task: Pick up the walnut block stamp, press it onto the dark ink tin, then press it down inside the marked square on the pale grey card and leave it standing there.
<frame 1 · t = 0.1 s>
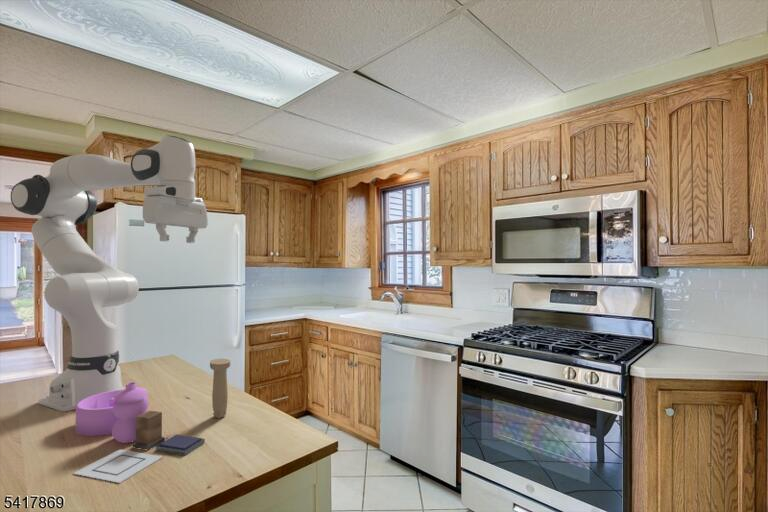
hand: (178, 242, 109), 48 cm above the counter, tool pointing down, fingers open, 8 cm apart
stamp: (148, 444, 89), on the counter
handle: (219, 417, 105), on the counter
ink tin: (180, 446, 88), on the counter
container set: (118, 429, 98), on the counter
card: (119, 465, 80), on the counter
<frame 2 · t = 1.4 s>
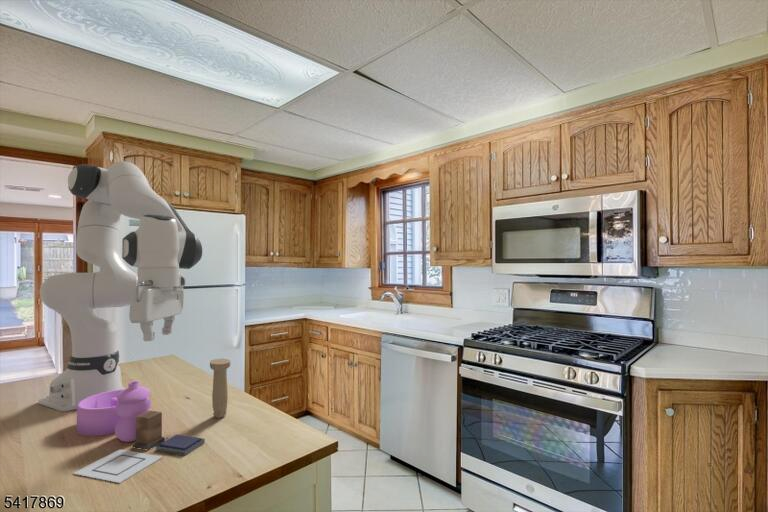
hand: (158, 337, 93), 24 cm above the counter, tool pointing down, fingers open, 8 cm apart
nothing on the counter moved.
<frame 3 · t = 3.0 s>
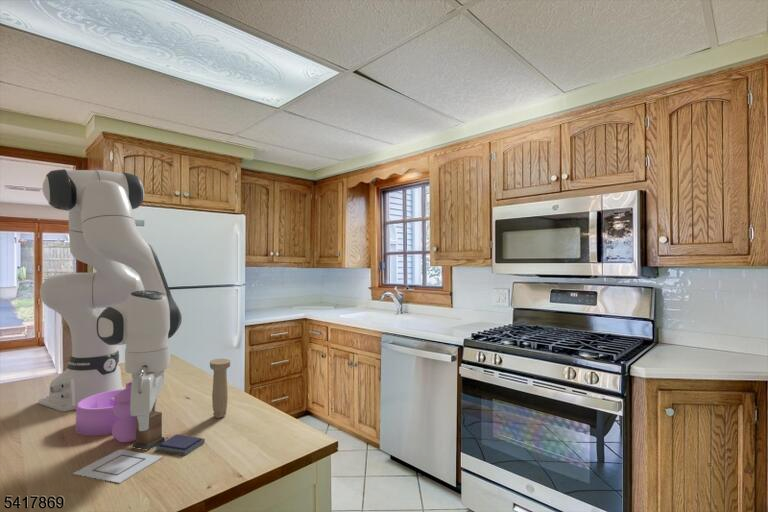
hand: (147, 421, 89), 6 cm above the counter, tool pointing down, fingers open, 8 cm apart
nothing on the counter moved.
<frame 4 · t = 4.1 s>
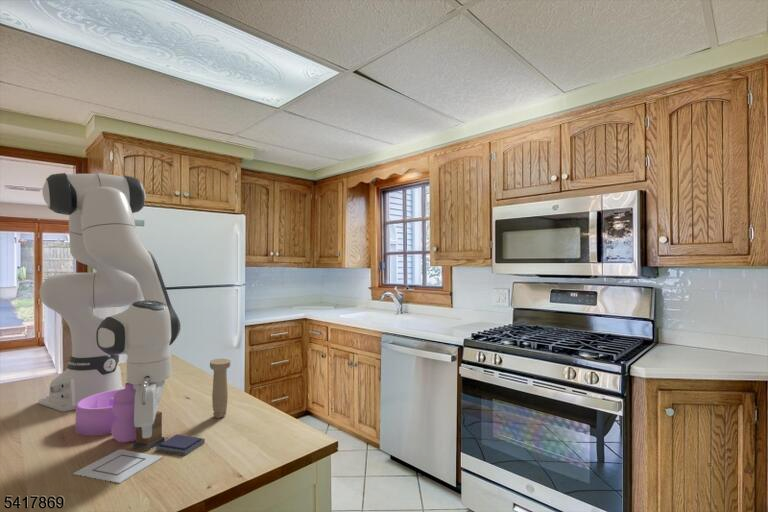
hand: (149, 430, 89), 3 cm above the counter, tool pointing down, fingers closed on stamp, 5 cm apart
stamp: (148, 444, 89), on the counter, touching gripper
everything else where it was.
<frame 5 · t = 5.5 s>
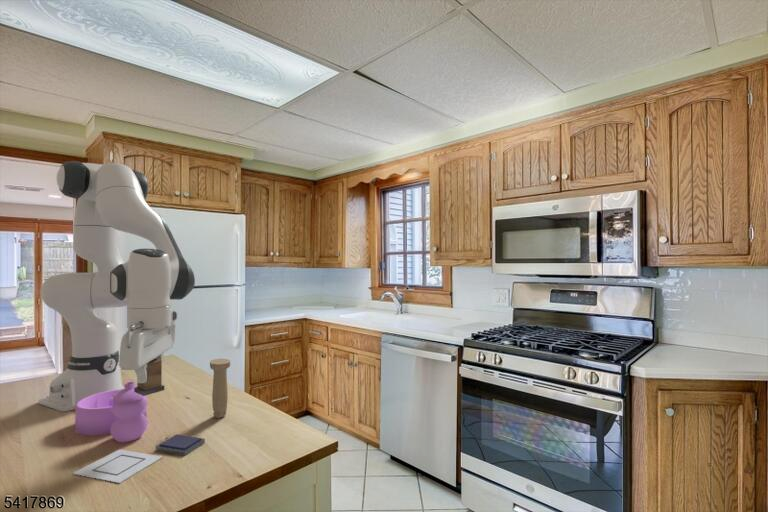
hand: (149, 377, 90), 15 cm above the counter, tool pointing down, fingers closed on stamp, 5 cm apart
stamp: (149, 391, 90), point 12 cm above the counter, touching gripper
everything else where it was.
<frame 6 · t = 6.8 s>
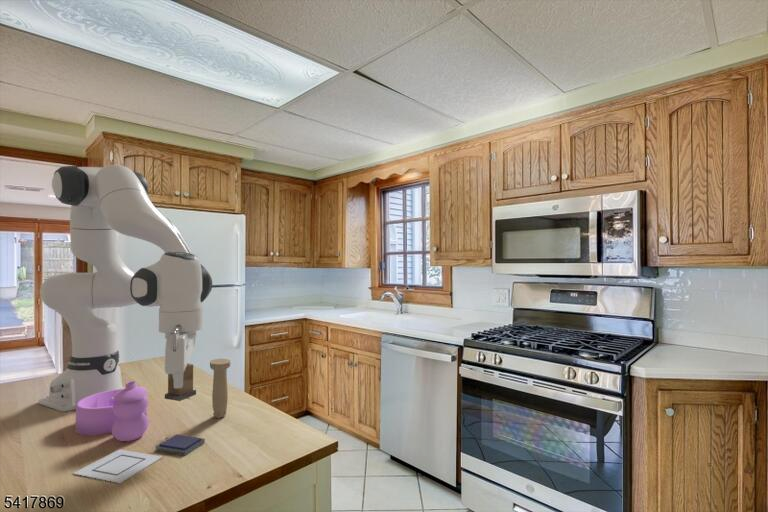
hand: (180, 383, 88), 15 cm above the counter, tool pointing down, fingers closed on stamp, 5 cm apart
stamp: (180, 396, 88), point 12 cm above the counter, touching gripper
everything else where it was.
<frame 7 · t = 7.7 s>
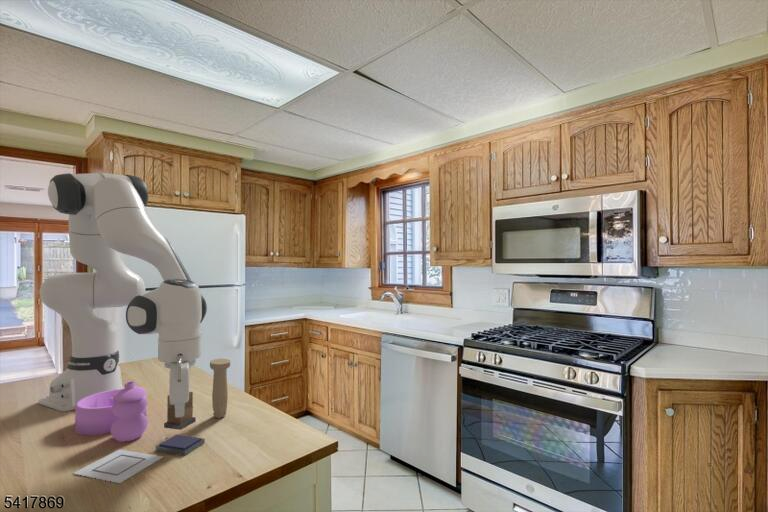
hand: (180, 411, 88), 8 cm above the counter, tool pointing down, fingers closed on stamp, 5 cm apart
stamp: (180, 424, 88), point 5 cm above the counter, touching gripper
everything else where it was.
when the fingers open (3 cm above the counter, at t = 13.6 s): stamp stays where it is, resting on card.
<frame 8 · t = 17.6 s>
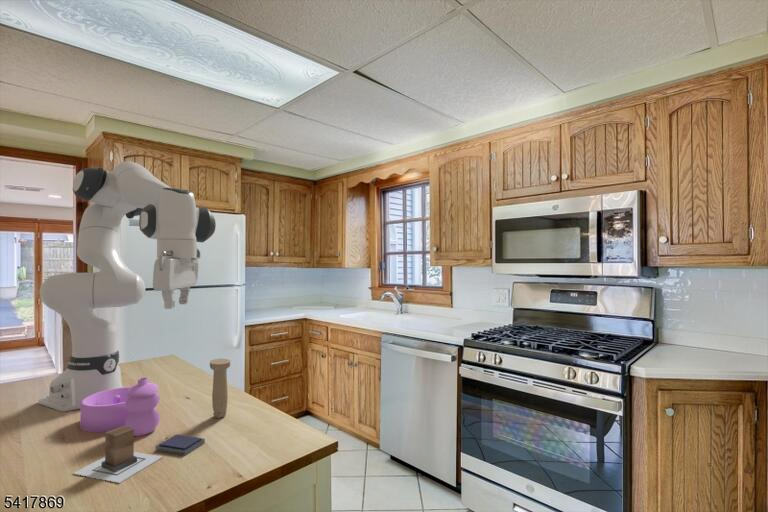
hand: (176, 306, 97), 31 cm above the counter, tool pointing down, fingers open, 8 cm apart
stamp: (119, 464, 80), resting on card
container set: (125, 424, 101), on the counter
everything else where it was.
at the end: stamp inside the target area on the card (0.1 cm from its centre), point 0.2 cm above the card's base; stamp tilted 0°; the gripper is holding nothing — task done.
